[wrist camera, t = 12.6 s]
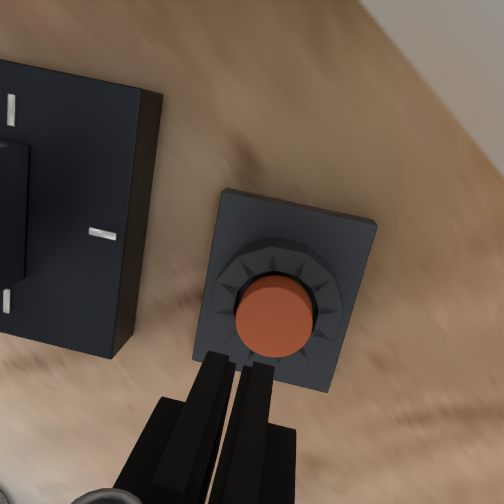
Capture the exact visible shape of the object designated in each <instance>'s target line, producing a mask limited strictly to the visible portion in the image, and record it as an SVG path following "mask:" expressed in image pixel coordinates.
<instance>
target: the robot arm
mask: <svg viewBox="0 0 504 504" xmlns="http://www.w3.org/2000/svg"><path fill="white" fill-rule="evenodd" d="M236 364H237V363H234V362H229V355H226V354H222V353H218V352H214V351H209V350H208V351H207V353H206V356H205V358H204V360H203V363H202V365H201V367H200V370H199V372H198V374H197V377H196V379H195V381H194V383H193V386H192V388H191V390H190V393H189V395H188V397H187V400H186V402H182V401H178V400H174V399H170V398H166V397H161V398H160V400H159V401H158V403H157V405H156V407H155V409H154V411H153V412H152V414H151V416H150V418H149V420H148V422H147V424H146V426H145V428H144V429H143V431H142V433H141V435H140V437H139V439H138V441H137V443H136V445H135V446H134V448H133V450H132V452H131V454H130V456H129V458H128V460H127V461H126V463H125V465H124V467H123V469H122V471H121V473H120V475H119V477H118V478H117V480H116V482H115V484H114V486H113V488H102V489H98V490H95V491H91V492H88V493H86V494H84V495H82V496H81V497H79V498H77V499H75V500H74V501H73V502H72V503H71V504H205V501H206V497H207V493H208V489H209V485H210V482H211V478H212V474H213V470H214V467H215V463H216V459H217V454H218V450H219V445H220V440H221V436H222V431H223V426H224V421H225V417H226V412H227V407H228V402H229V398H230V393H231V388H232V383H233V379H234V374H235V369H236ZM274 370H275V366H272V365H268V364H264V363H260V362H255V361H253V365H252V367H250V366H246V365H243V368H242V372H241V376H240V380H239V384H238V388H237V392H236V396H235V400H234V403H233V407H232V411H231V415H230V419H229V423H228V427H227V431H226V435H225V438H224V442H223V446H222V450H221V454H220V458H219V462H218V466H217V470H216V473H215V477H214V481H213V485H212V489H211V493H210V498H209V502H208V504H294V503H295V468H296V429H291V428H287V427H283V426H279V425H275V424H271V423H268V417H269V409H270V401H271V393H272V385H273V377H274Z"/></svg>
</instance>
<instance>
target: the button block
mask: <svg viewBox="0 0 504 504" xmlns="http://www.w3.org/2000/svg"><path fill="white" fill-rule="evenodd" d="M376 229H377V224H376V223H375V221H374V220H370V219H366V218H361V217H357V216H352V215H348V214H343V213H338V212H334V211H329V210H325V209H320V208H316V207H311V206H306V205H302V204H297V203H293V202H288V201H283V200H279V199H274V198H270V197H265V196H261V195H256V194H251V193H247V192H242V191H238V190H233V189H229V188H226V189H224V190H223V191H222V192H221V198H220V203H219V209H218V215H217V220H216V226H215V232H214V237H213V243H212V249H211V254H210V260H209V265H208V271H207V277H206V282H205V288H204V294H203V299H202V305H201V311H200V316H199V322H198V328H197V333H196V339H195V345H194V350H193V356H192V360H194V361H198V362H202V363H203V360H204V358H205V356H206V353H207V351H208V350H209V351H214V352H218V353H222V354H226V355H229V362H234V363H237V364H236V369H235V371H239V372H242V368H243V365H246V366H250V367H252V365H253V361H255V362H260V363H264V364H268V365H272V366H275V370H274V377H273V380H276V381H280V382H284V383H288V384H292V385H296V386H300V387H305V388H309V389H313V390H317V391H321V392H325V393H328V391H329V388H330V384H331V381H332V378H333V374H334V371H335V367H336V364H337V361H338V357H339V354H340V351H341V347H342V344H343V340H344V337H345V334H346V330H347V327H348V324H349V320H350V317H351V314H352V310H353V307H354V303H355V300H356V297H357V293H358V290H359V287H360V283H361V280H362V276H363V273H364V270H365V266H366V263H367V260H368V256H369V253H370V249H371V246H372V243H373V239H374V236H375V233H376ZM269 275H281V276H286V277H289V278H291V279H293V280H295V281H297V282H298V283H299V284H300V285H301V286H302V287H303V288H304V289H305V290H306V291H307V293H308V295H309V297H310V300H311V304H312V319H313V326H312V332H311V335H310V337H309V339H308V341H307V342H306V344H305V345H304V346H303V347H302V348H301V349H299V350H298V351H297V352H295V353H293V354H291V355H288V356H285V357H267V356H263V355H260V354H258V353H256V352H254V351H252V350H251V349H250V348H248V347H247V346H246V345H245V344H244V342H243V341H242V340H241V338H240V336H239V334H238V332H237V328H236V313H237V309H238V307H239V304H240V301H241V299H242V296H243V294H244V292H245V290H246V289H247V287H248V286H249V285H250V284H251V283H252V282H254V281H255V280H257V279H259V278H261V277H264V276H269Z"/></svg>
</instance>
